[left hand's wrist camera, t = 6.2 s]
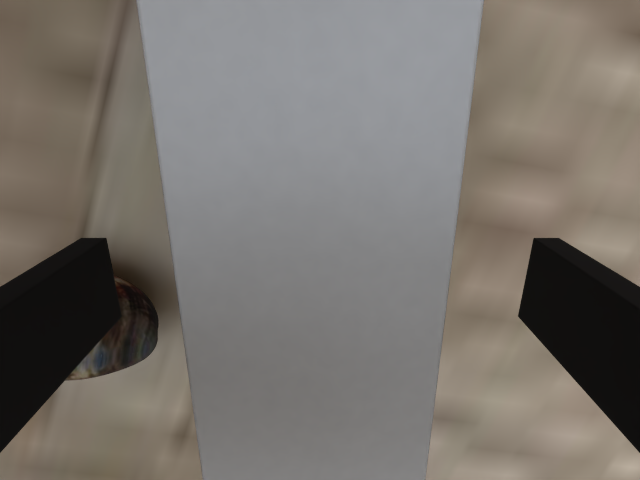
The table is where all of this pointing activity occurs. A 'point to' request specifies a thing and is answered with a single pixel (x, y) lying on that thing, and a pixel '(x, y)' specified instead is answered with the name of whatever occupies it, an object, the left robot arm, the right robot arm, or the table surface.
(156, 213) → the table surface
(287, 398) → the box
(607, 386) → the left robot arm
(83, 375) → the seashell
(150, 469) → the table surface
